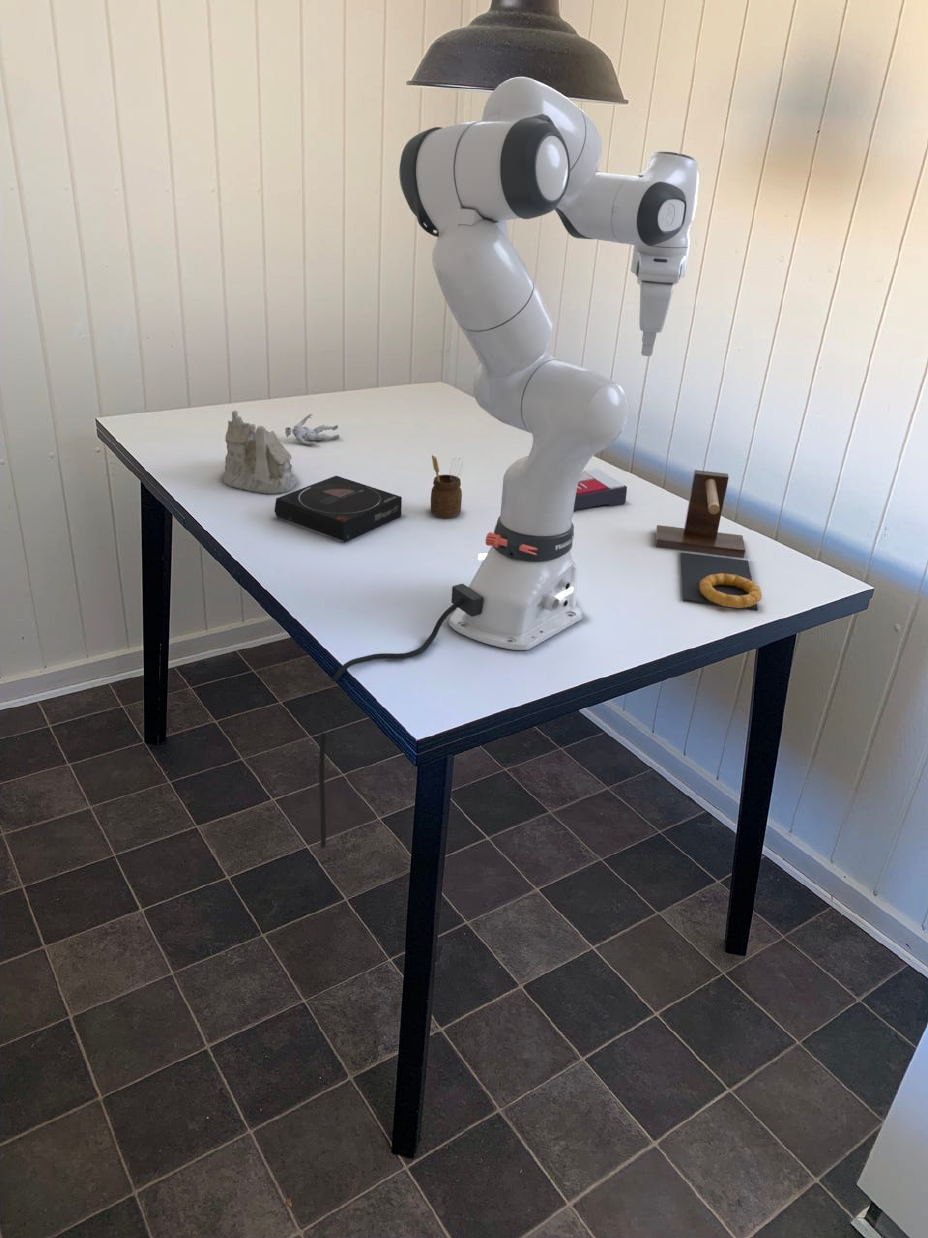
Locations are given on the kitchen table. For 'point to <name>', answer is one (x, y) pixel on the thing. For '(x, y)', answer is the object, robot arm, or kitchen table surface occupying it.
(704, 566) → the mat
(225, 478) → the ceramic cottage
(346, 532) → the portable cd player
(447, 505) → the utensil holder
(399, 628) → the kitchen table surface
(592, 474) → the calculator
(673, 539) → the rack
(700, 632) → the kitchen table surface
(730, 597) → the ring
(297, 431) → the soldier figure
